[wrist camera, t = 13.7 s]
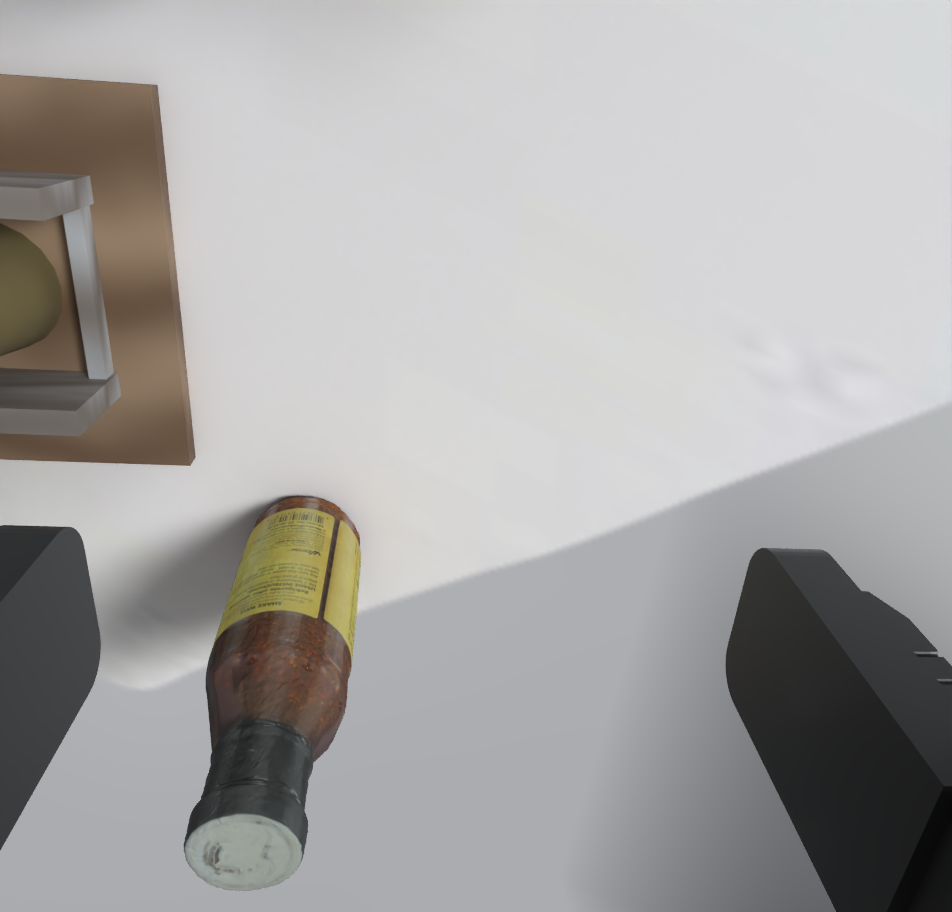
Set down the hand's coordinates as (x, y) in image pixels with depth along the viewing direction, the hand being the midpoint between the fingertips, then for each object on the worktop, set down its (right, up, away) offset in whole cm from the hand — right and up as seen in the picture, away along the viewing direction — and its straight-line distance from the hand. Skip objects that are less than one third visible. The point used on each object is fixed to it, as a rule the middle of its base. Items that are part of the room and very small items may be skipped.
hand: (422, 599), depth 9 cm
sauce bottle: (-9, -3, +34) cm, 36 cm away
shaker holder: (-22, +10, +27) cm, 36 cm away
